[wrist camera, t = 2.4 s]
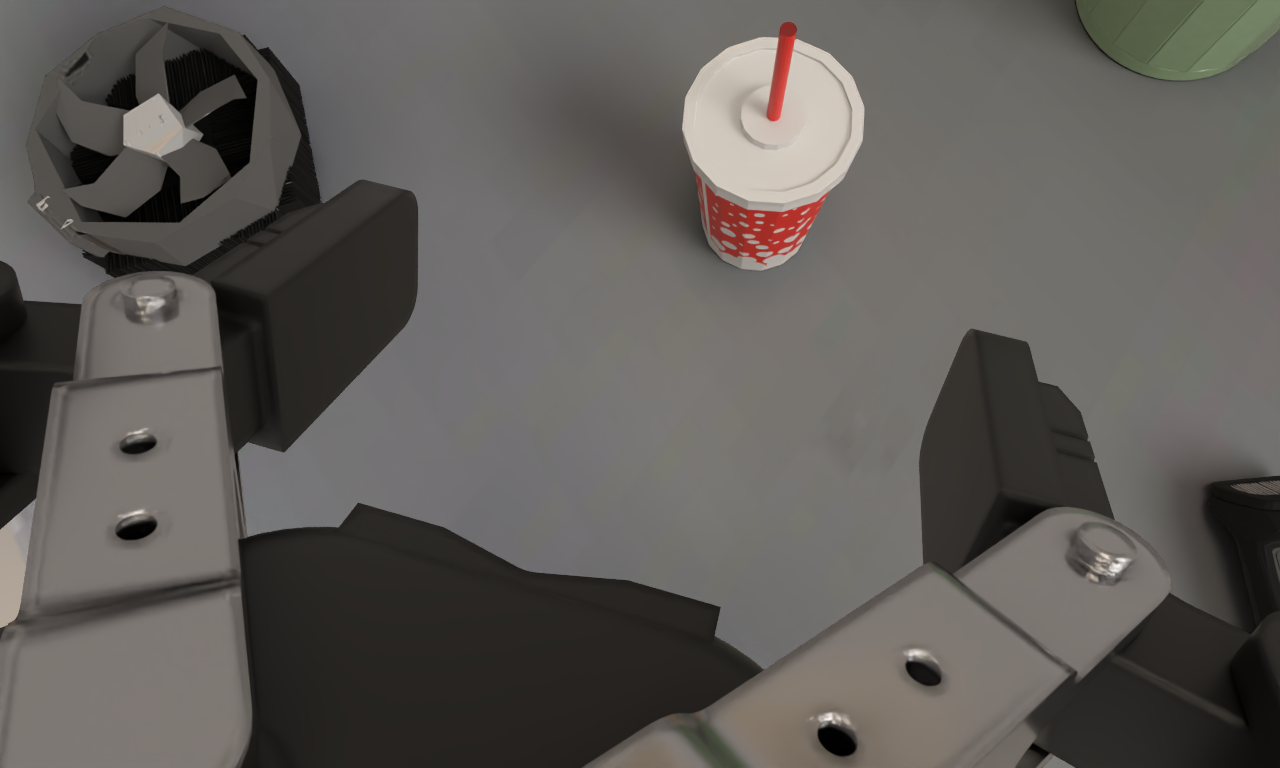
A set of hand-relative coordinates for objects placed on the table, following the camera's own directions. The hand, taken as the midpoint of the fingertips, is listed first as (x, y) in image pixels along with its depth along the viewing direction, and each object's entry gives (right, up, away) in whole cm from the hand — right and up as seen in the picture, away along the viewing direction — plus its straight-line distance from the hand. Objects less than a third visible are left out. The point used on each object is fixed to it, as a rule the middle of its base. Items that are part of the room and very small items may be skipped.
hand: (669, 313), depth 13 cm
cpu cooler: (-20, +8, +28) cm, 35 cm away
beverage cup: (+5, +6, +26) cm, 27 cm away
